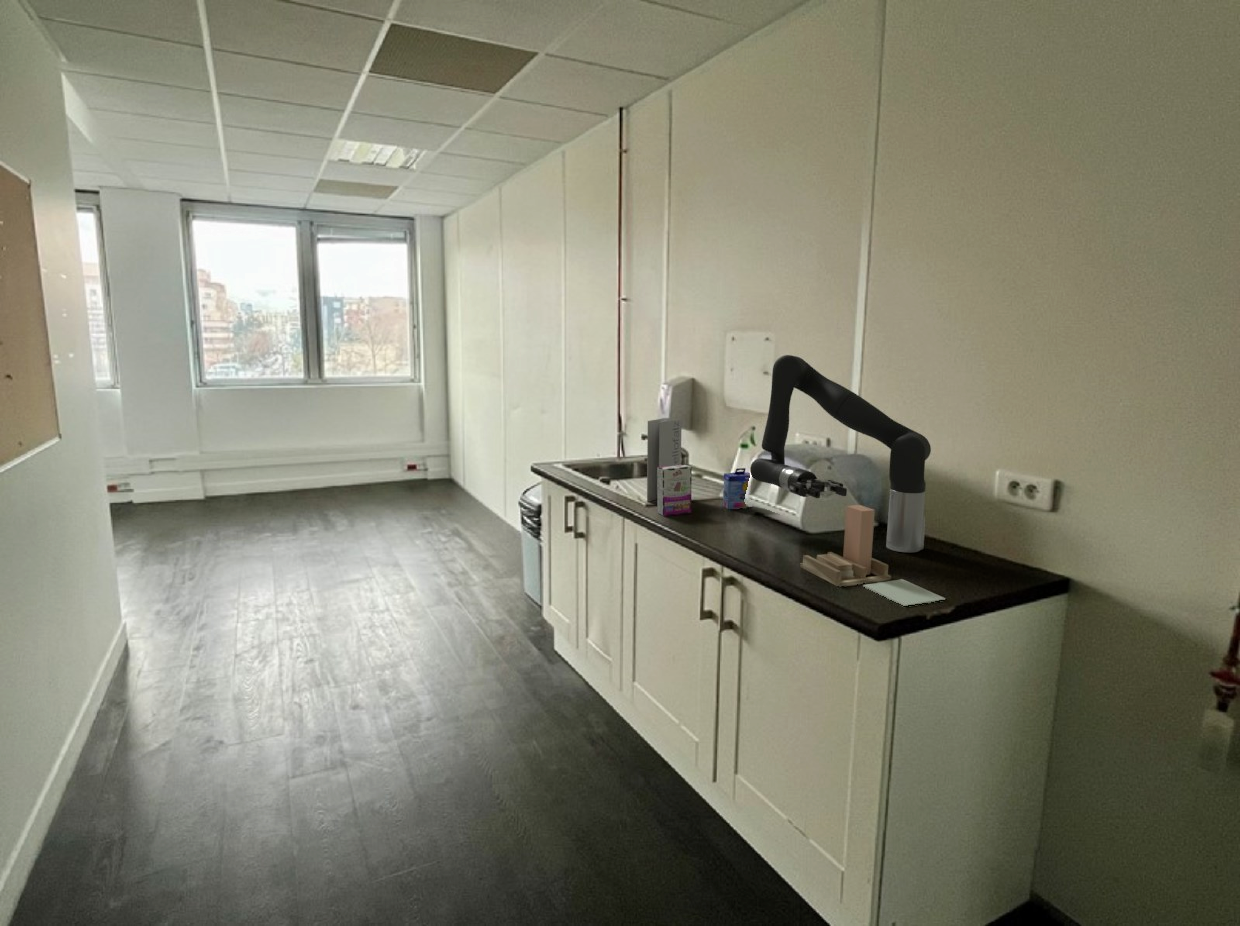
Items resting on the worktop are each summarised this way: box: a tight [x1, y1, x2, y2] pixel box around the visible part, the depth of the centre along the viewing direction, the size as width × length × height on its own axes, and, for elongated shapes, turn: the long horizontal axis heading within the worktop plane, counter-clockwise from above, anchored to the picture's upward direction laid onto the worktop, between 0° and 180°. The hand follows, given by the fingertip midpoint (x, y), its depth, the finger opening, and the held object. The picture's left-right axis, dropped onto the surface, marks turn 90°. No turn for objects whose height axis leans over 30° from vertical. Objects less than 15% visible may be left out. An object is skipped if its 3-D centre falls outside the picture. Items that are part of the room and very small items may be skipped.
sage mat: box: [862, 578, 946, 607], centre depth 167 cm, size 12×14×1 cm
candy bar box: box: [656, 464, 692, 517], centre depth 242 cm, size 11×5×16 cm, turn 114°
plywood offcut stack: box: [816, 553, 855, 581], centre depth 180 cm, size 4×11×4 cm, turn 18°
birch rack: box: [799, 551, 892, 588], centre depth 182 cm, size 16×16×4 cm
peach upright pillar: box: [842, 504, 876, 576], centre depth 182 cm, size 4×6×17 cm, turn 20°
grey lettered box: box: [646, 417, 683, 503], centre depth 261 cm, size 14×6×30 cm, turn 143°
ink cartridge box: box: [722, 467, 751, 510], centre depth 250 cm, size 10×6×14 cm, turn 104°
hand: (832, 493), depth 190 cm, fingers open, 8 cm apart
